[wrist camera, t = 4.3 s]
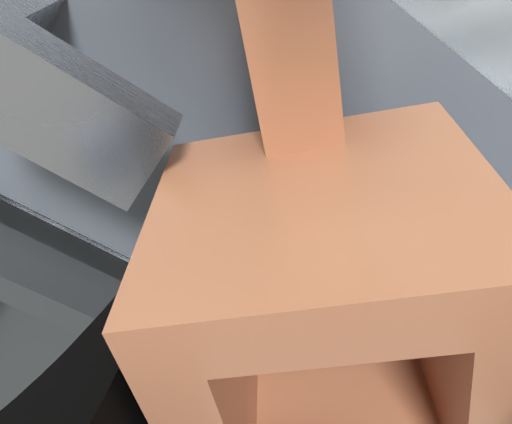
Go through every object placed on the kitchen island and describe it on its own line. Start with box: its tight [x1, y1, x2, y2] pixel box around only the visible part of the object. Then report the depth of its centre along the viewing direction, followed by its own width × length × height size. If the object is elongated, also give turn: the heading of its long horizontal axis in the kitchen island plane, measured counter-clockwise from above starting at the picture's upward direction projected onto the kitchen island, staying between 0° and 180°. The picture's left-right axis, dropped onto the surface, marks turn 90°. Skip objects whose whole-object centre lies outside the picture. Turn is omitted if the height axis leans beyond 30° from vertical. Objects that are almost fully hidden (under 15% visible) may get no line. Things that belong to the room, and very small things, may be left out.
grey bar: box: [0, 0, 183, 211], centre depth 10 cm, size 8×2×4 cm, turn 56°
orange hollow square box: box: [102, 0, 512, 424], centre depth 8 cm, size 9×5×5 cm, turn 11°
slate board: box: [0, 0, 512, 258], centre depth 12 cm, size 14×9×1 cm, turn 56°
